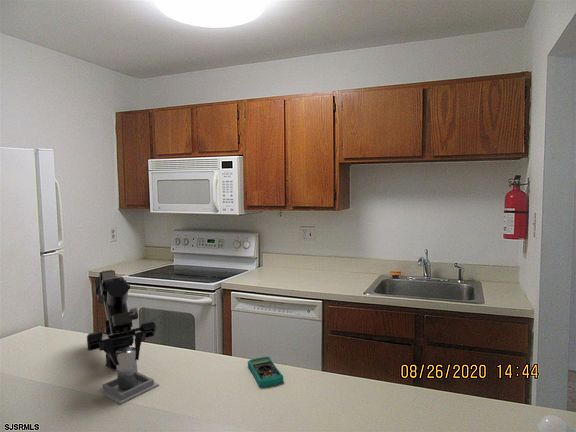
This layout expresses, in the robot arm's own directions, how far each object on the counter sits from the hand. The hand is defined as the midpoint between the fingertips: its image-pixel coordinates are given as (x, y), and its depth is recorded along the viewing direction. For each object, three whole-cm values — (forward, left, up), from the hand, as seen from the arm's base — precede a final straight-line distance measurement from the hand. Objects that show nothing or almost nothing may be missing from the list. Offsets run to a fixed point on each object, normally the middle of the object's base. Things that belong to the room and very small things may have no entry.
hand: (127, 362), depth 117 cm
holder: (-1, -1, -8) cm, 9 cm away
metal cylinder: (-1, -1, -7) cm, 7 cm away
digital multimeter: (-29, +26, -9) cm, 40 cm away
